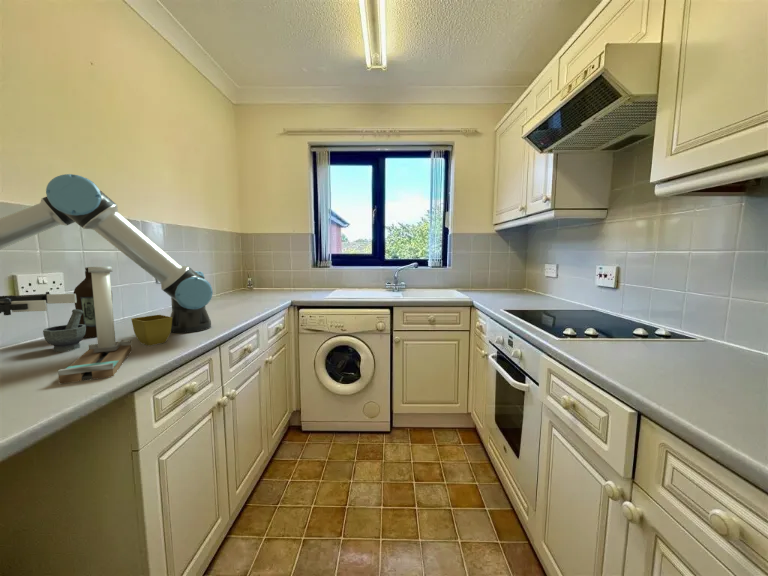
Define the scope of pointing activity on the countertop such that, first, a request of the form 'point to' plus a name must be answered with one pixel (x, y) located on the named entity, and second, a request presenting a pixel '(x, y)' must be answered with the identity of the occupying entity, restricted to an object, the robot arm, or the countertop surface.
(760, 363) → the countertop surface
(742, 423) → the countertop surface
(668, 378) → the countertop surface
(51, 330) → the mortar and pestle
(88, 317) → the olive oil
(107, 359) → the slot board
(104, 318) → the slider
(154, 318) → the flower pot
